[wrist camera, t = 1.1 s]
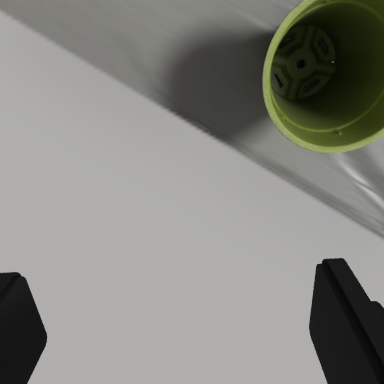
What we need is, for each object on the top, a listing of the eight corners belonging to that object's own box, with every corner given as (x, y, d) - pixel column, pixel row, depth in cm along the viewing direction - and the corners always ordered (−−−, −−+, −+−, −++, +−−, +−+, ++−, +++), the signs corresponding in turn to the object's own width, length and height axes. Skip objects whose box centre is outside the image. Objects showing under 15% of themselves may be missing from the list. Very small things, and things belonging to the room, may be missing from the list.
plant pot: (317, 137, 37) (362, 176, 27) (223, 92, 35) (233, 115, 25) (385, 31, 32) (471, 29, 22) (281, -29, 30) (323, -61, 20)
